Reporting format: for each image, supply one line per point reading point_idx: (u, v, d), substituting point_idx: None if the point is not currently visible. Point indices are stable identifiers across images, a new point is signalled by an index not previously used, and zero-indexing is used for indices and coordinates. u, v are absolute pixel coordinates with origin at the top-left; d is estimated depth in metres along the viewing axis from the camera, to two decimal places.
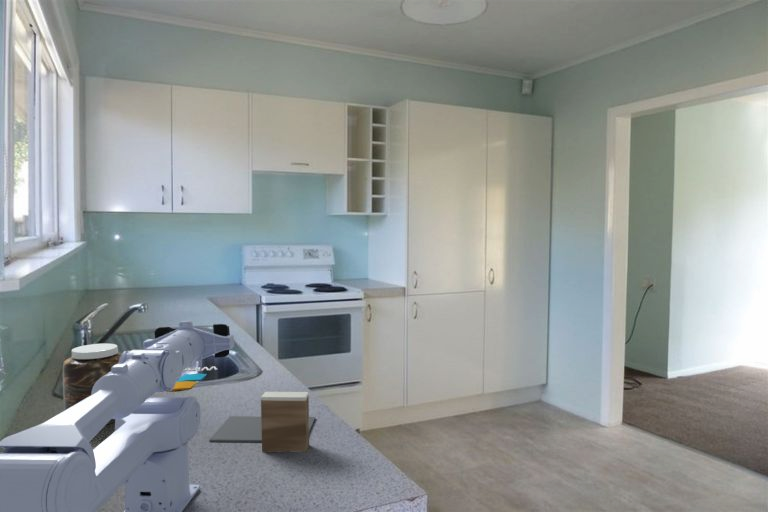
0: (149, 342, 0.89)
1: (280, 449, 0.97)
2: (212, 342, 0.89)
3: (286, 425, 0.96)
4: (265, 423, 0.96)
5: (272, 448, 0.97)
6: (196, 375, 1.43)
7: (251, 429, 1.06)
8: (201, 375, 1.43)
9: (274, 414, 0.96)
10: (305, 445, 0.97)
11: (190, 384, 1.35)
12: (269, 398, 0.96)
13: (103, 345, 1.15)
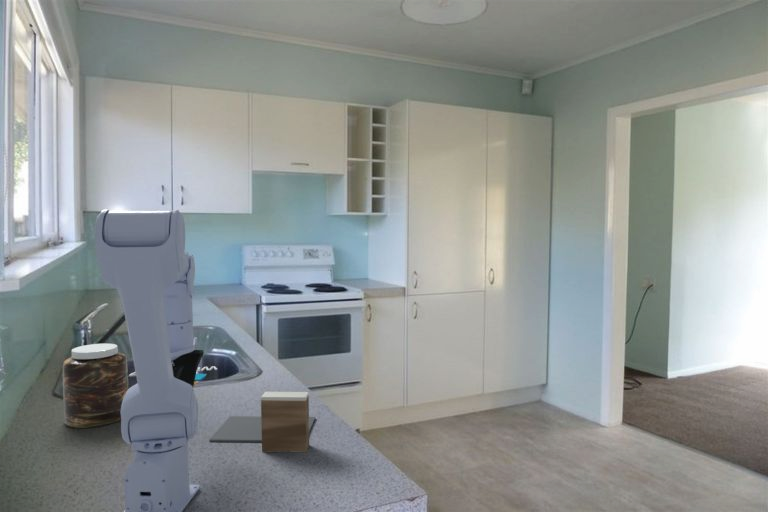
0: None
1: (280, 449, 0.97)
2: None
3: (286, 425, 0.96)
4: (265, 423, 0.96)
5: (272, 448, 0.97)
6: (196, 375, 1.43)
7: (251, 429, 1.06)
8: (201, 375, 1.43)
9: (274, 414, 0.96)
10: (305, 445, 0.97)
11: None
12: (269, 398, 0.96)
13: (103, 345, 1.15)
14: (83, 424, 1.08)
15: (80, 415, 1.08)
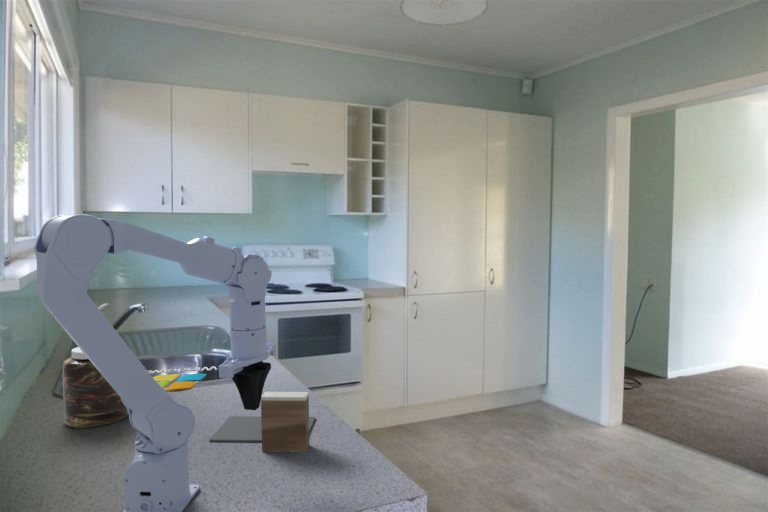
0: (223, 365, 0.83)
1: (280, 449, 0.97)
2: None
3: (286, 425, 0.96)
4: (265, 423, 0.96)
5: (272, 448, 0.97)
6: (196, 375, 1.43)
7: (251, 429, 1.06)
8: (201, 375, 1.43)
9: (274, 414, 0.96)
10: (305, 445, 0.97)
11: (190, 384, 1.35)
12: (269, 398, 0.96)
13: None
14: (83, 424, 1.08)
15: (80, 415, 1.08)
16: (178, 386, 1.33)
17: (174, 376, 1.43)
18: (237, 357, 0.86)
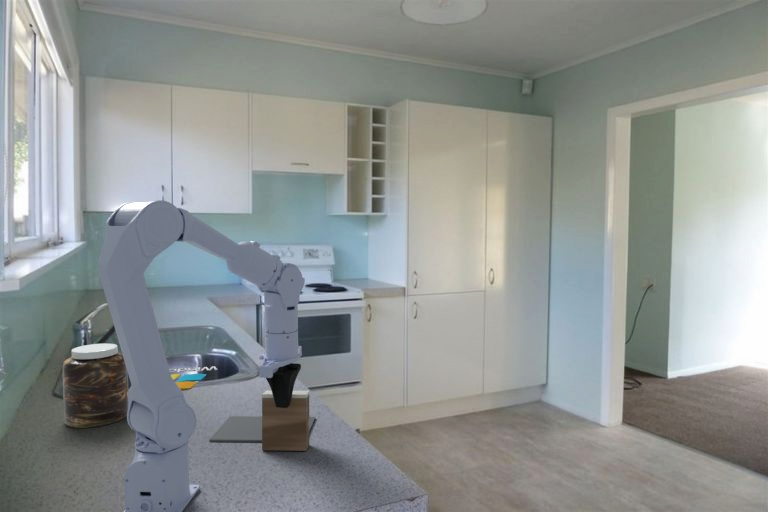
0: (262, 366, 0.89)
1: (280, 447, 0.97)
2: None
3: (286, 422, 0.97)
4: (266, 421, 0.97)
5: (272, 446, 0.97)
6: (196, 375, 1.43)
7: (251, 429, 1.06)
8: (201, 375, 1.43)
9: (275, 412, 0.97)
10: (305, 443, 0.97)
11: (190, 384, 1.35)
12: (270, 395, 0.97)
13: (103, 345, 1.15)
14: (83, 424, 1.08)
15: (80, 415, 1.08)
16: (178, 386, 1.33)
17: (174, 376, 1.43)
18: (273, 358, 0.92)
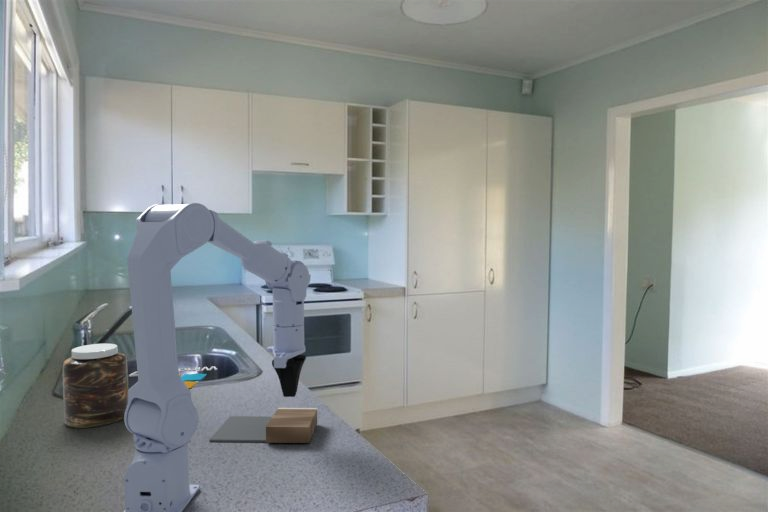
0: (276, 357, 0.95)
1: (284, 426, 1.00)
2: None
3: (295, 417, 1.04)
4: (276, 416, 1.05)
5: (276, 425, 1.00)
6: (196, 375, 1.43)
7: (251, 429, 1.06)
8: (201, 375, 1.43)
9: (286, 413, 1.06)
10: (309, 425, 1.00)
11: (190, 384, 1.35)
12: (285, 408, 1.09)
13: (103, 345, 1.15)
14: (83, 424, 1.08)
15: (80, 415, 1.08)
16: None
17: None
18: (283, 350, 0.98)
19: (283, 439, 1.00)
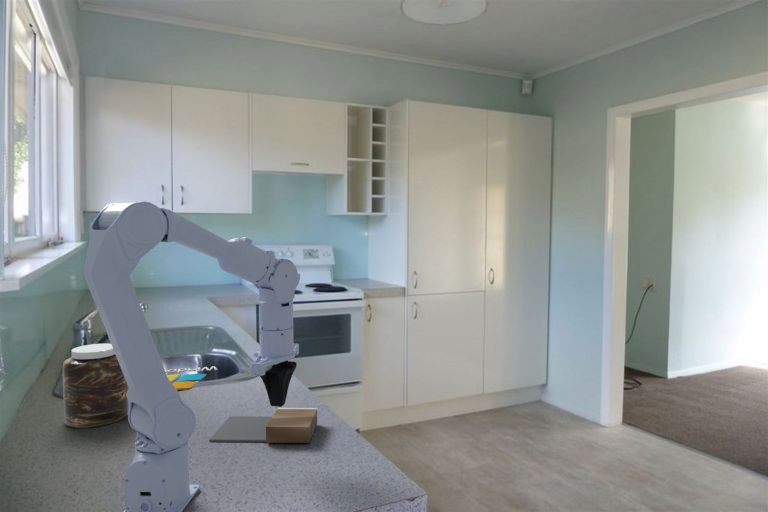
0: (255, 363, 0.87)
1: (284, 426, 1.00)
2: None
3: (295, 417, 1.04)
4: (276, 416, 1.05)
5: (276, 425, 1.00)
6: (196, 375, 1.43)
7: (251, 429, 1.06)
8: (201, 375, 1.43)
9: (286, 413, 1.06)
10: (309, 425, 1.00)
11: (190, 384, 1.35)
12: (285, 408, 1.09)
13: (103, 345, 1.15)
14: (83, 424, 1.08)
15: (80, 415, 1.08)
16: (178, 386, 1.33)
17: (174, 376, 1.43)
18: (267, 356, 0.90)
19: (283, 439, 1.00)
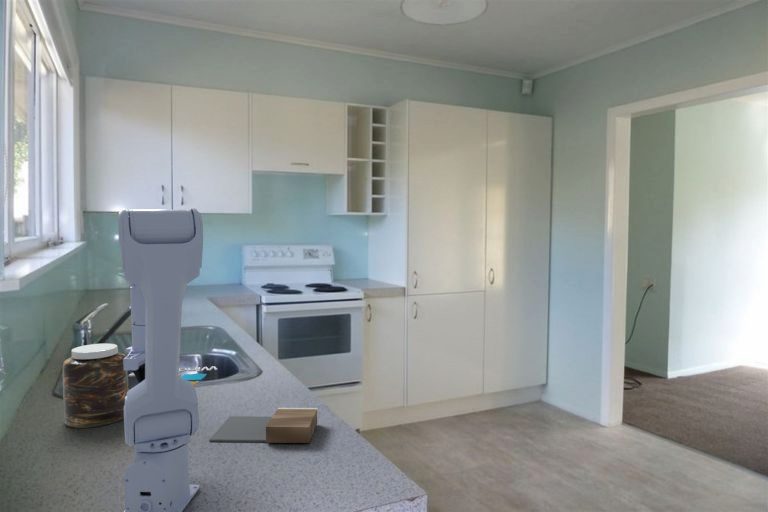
0: None
1: (284, 426, 1.00)
2: None
3: (295, 417, 1.04)
4: (276, 416, 1.05)
5: (276, 425, 1.00)
6: (196, 375, 1.43)
7: (251, 429, 1.06)
8: (201, 375, 1.43)
9: (286, 413, 1.06)
10: (309, 425, 1.00)
11: None
12: (285, 408, 1.09)
13: (103, 345, 1.15)
14: (83, 424, 1.08)
15: (80, 415, 1.08)
16: None
17: None
18: (140, 351, 0.90)
19: (283, 439, 1.00)
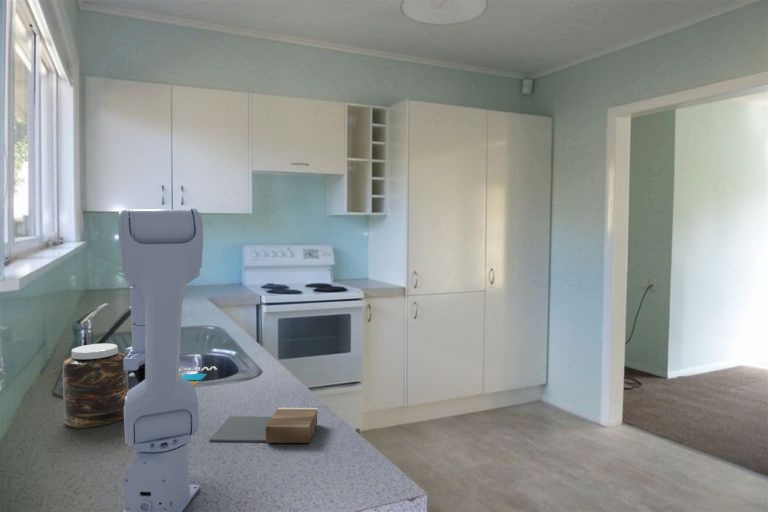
0: None
1: (284, 426, 1.00)
2: None
3: (295, 417, 1.04)
4: (276, 416, 1.05)
5: (276, 425, 1.00)
6: (196, 375, 1.43)
7: (251, 429, 1.06)
8: (201, 375, 1.43)
9: (286, 413, 1.06)
10: (309, 425, 1.00)
11: None
12: (285, 408, 1.09)
13: (103, 345, 1.15)
14: (83, 424, 1.08)
15: (80, 415, 1.08)
16: None
17: None
18: (140, 351, 0.90)
19: (283, 439, 1.00)
